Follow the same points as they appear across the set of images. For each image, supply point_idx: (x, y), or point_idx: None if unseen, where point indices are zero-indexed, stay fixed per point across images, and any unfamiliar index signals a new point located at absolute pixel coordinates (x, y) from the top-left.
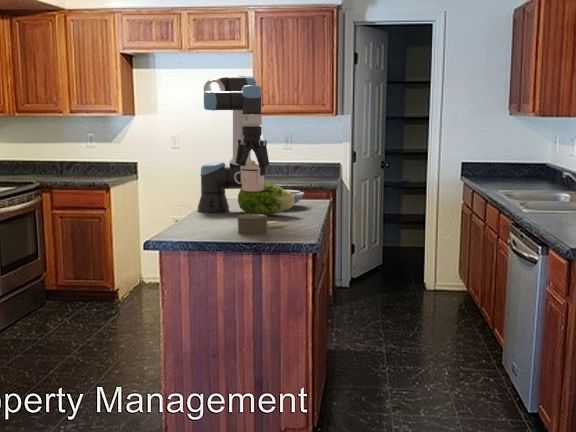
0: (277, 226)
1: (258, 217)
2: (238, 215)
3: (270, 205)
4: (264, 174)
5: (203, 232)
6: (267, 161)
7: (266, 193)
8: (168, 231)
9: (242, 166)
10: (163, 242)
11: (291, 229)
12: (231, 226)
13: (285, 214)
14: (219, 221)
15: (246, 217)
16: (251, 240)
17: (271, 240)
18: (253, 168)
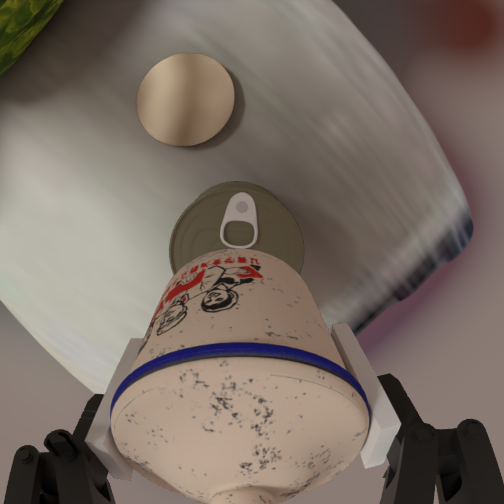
0: (233, 103)
1: (264, 242)
2: None
3: (49, 5)
4: (395, 383)
5: None
6: (482, 460)
7: (8, 3)
8: (88, 383)
9: (128, 472)
10: None
11: (294, 86)
12: (99, 222)
13: None
14: (17, 202)
15: None
16: (329, 312)
17: (372, 270)
18: (328, 479)
